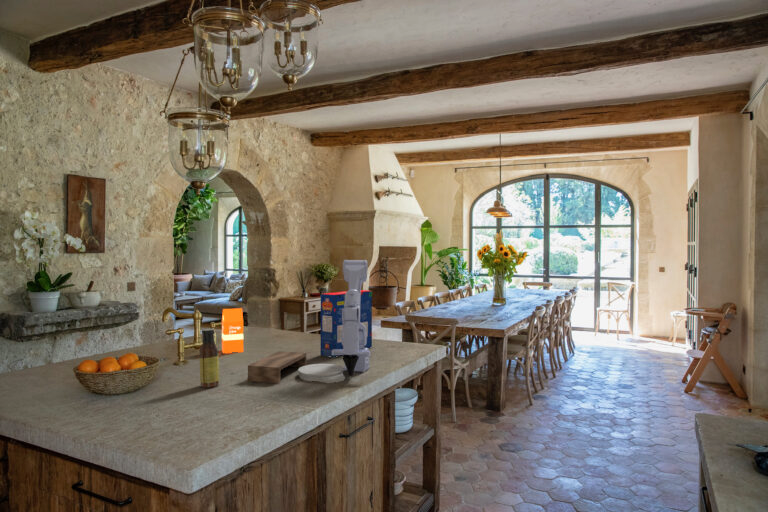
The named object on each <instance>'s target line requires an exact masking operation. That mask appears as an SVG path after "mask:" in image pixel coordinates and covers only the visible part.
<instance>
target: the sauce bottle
mask: <svg viewBox="0 0 768 512" xmlns="http://www.w3.org/2000/svg"><path fill="white" fill-rule="evenodd" d="M201 335H202V344H201V346H200V348H199V378H200V381H199V382H200V387H202V388H205V389H206V388H207V389H210V388H216V387H217V386H219V385H220V367H219V366H220V364H219V351H218V348H217V345H216V342H215V336H214V335H215V329H214V328H205V329H202V330H201Z"/></svg>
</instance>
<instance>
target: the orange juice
mask: <svg viewBox="0 0 768 512" xmlns="http://www.w3.org/2000/svg"><path fill="white" fill-rule="evenodd" d="M221 351H222V353H223V354H224V353H225V354H233V353H232V352H238V353H244V317H243V308H242V307H240V308H222V316H221Z"/></svg>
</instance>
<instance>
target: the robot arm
mask: <svg viewBox="0 0 768 512" xmlns="http://www.w3.org/2000/svg"><path fill="white" fill-rule="evenodd" d="M368 264H369V263H368V261H367V259H356V260H355V259H344V260H343V261H342V274H343V278H344V281H345V282H347V283H348V290H346V291H347V292H346V293H345V303H344V309H342V321H343V328H342V336H341V342H342V345H343V349H333V350H332V355H343V356H342V361H343V363H344V367H343V368H344V371H345V372H347V375H348V376H349V377H352V376H354V373H355V372H361V373H363V372H366V371H367V370H369V369H370V357H371V350H370V348H369V349H368V348H364V347H363V346H365V345H366V342H367V333H366V327H365V326H364V325H363V324H362V323H360V300H361V290H362V286H363V284H364V283H365V282H367V279H368V266H369V265H368ZM359 330H361V331H359ZM344 371H343V372H344Z"/></svg>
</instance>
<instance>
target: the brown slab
mask: <svg viewBox="0 0 768 512" xmlns="http://www.w3.org/2000/svg"><path fill="white" fill-rule="evenodd" d="M306 365H307V352H298V351H279V350H278V351H276V352H274V353H272V354H270V355H268V356H266V357H264V358H261V359H259V360H257V361H254V362H253V363H250V364H248V365H247V382H252V381H257V382H256V383H265V382H269V383H270V384H280V383H281V370H283V369H284V368H286V367H288V366H296V367H295V368H300V367H302V366H306Z"/></svg>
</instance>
